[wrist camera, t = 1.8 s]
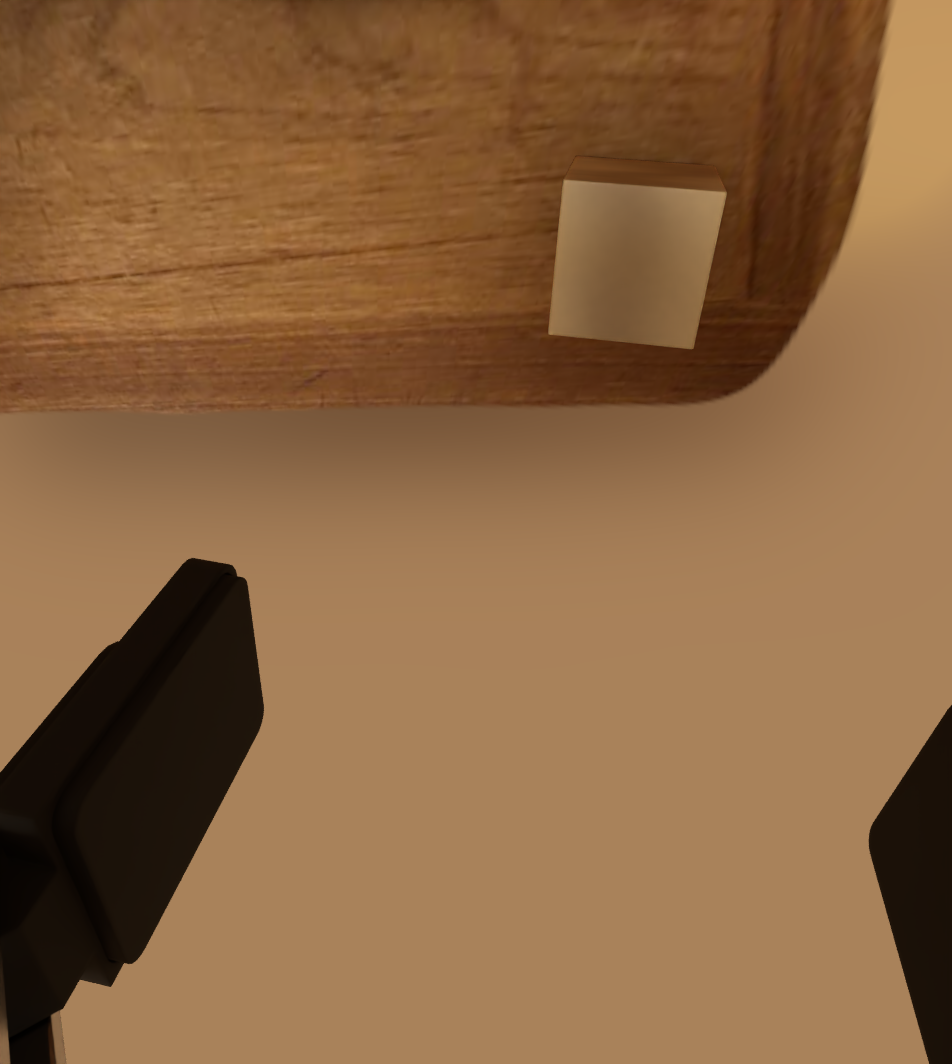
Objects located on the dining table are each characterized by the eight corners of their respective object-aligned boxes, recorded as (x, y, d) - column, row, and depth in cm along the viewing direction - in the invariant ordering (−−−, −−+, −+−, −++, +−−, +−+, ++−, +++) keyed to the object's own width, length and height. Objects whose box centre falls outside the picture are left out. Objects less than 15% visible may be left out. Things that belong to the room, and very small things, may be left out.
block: (715, 165, 24) (727, 191, 21) (686, 304, 27) (693, 350, 23) (575, 155, 25) (562, 179, 21) (561, 292, 28) (547, 334, 24)
